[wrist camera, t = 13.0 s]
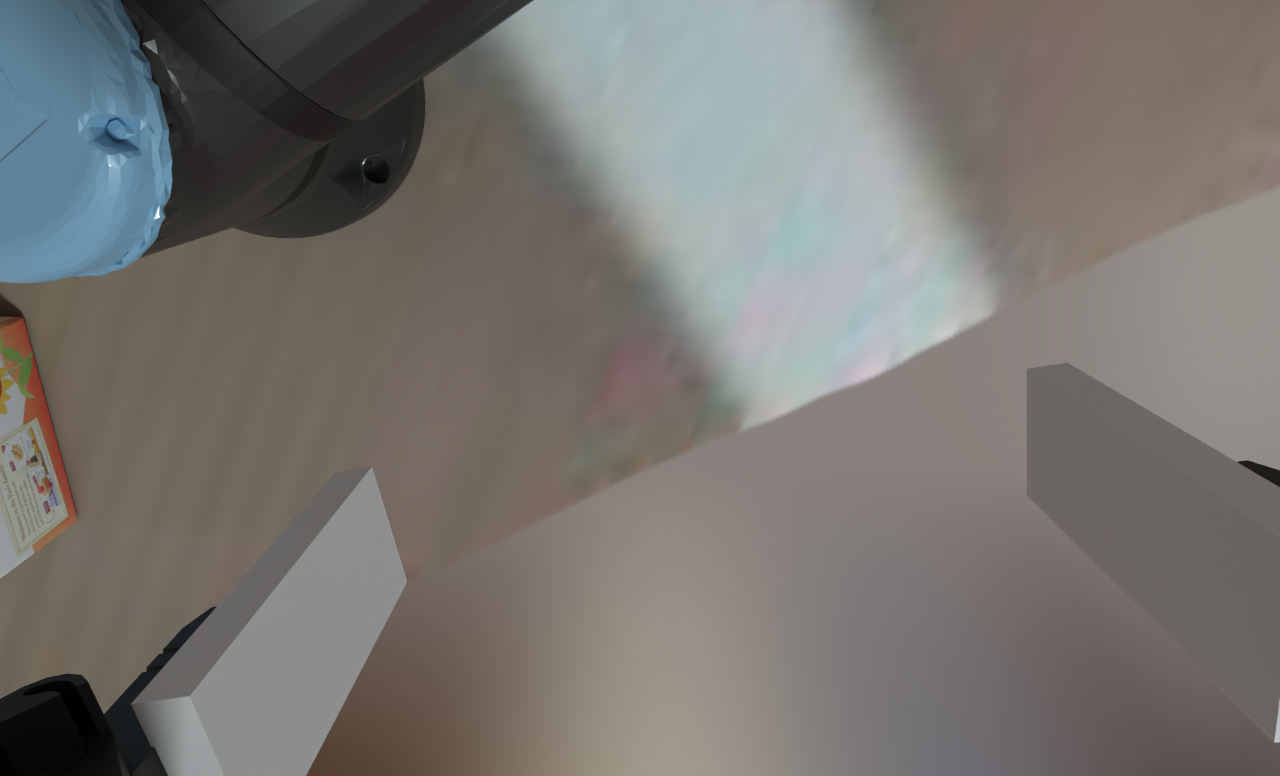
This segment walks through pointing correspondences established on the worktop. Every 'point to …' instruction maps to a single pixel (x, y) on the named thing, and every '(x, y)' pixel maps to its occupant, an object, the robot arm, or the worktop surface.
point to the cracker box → (27, 455)
